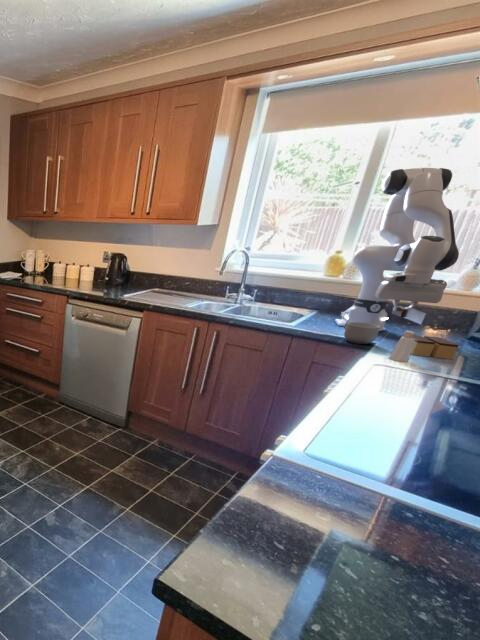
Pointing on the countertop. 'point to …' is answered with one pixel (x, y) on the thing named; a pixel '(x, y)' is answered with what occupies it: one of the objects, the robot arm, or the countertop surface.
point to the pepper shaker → (403, 347)
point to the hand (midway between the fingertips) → (401, 311)
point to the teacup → (360, 332)
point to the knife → (411, 314)
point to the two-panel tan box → (433, 347)
